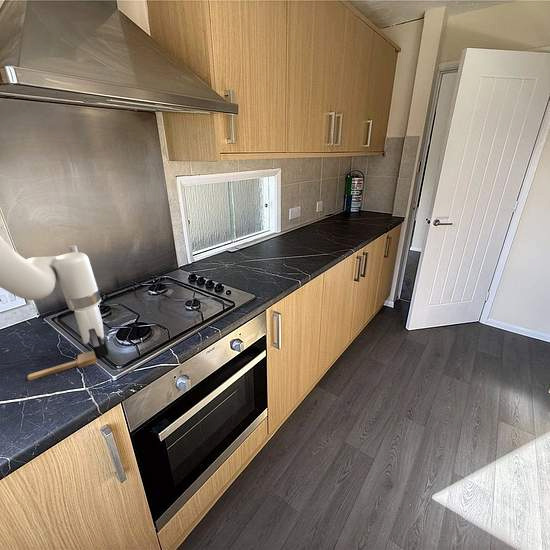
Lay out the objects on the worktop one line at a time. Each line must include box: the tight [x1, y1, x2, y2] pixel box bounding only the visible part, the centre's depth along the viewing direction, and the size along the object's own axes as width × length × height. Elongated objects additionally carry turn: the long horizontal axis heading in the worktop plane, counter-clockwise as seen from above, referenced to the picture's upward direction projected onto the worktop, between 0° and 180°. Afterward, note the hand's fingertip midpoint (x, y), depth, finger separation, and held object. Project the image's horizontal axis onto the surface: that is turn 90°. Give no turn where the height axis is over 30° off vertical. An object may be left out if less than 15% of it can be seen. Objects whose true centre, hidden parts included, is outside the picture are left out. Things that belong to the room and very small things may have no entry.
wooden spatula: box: [27, 350, 98, 382], centre depth 80 cm, size 16×4×2 cm, turn 120°
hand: (102, 354), depth 85 cm, fingers closed
